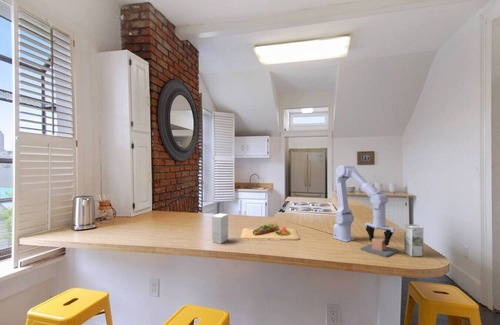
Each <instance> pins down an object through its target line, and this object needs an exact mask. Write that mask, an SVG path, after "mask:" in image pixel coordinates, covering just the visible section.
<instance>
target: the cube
mask: <svg viewBox="0 0 500 325" xmlns="http://www.w3.org/2000/svg"><path fill="white" fill-rule="evenodd" d="M371 244H372V249H375V250H379V251H383V250H386V247H387V246H386V245H385V238H381V237H378V236H377V237H374V238H373V239H372V242H371Z"/></svg>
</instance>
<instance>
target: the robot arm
mask: <svg viewBox="0 0 500 325" xmlns="http://www.w3.org/2000/svg"><path fill="white" fill-rule="evenodd" d="M335 173H336V174H335V185H336V195H337V204H338V206H337V207H338V209H337V210H336V211H335V216H334V220H335V222H336V223H334V225H333V237H332V239H335V240H338V241H341V242H345V243H348V242H350V241H351V242H352V241H354V240H355V238H353V237H352V223H353V222H354V215H353V211H352V209H351V208H349V201H348V193H347V192H348V190H347V184H346V182H347V181H348V179H349V178H352V179H354V181H355V182H356V183H357V184H359V185H360V186H361V187H362V189H361V190H362V191H363V193H365V194H366V196H367V197H368V198H369V200H370V203H371V204H372V205H371V206H372V223H371V222H364V227H365V231H366V232H367V235H368V238H369V240H370V242H371V243H372V239H373V238H375V229H377V230H381V231H384V232H383V235H384V239H385V245H386V247H388V246H389V244H390V240H391V237H392V236H393V234H394V233H395V232H396V228H395V227H392V226H388V225H386V204H387V203H388V200H389V199H388V195H386V193H383V192H381V191H380V190H378V189H377V188H376V187H375V184H374V183H371V182H367V180H365V178H364V177H363V176H362V175H361V174H360V172H359V171H358V169H357V168H356V167H355V166H354V165H353V164H352V165H351V164H350V165H348V164H347V165H343V164H342V165H341V164H339V165H338V166H337V168H336V169H335Z"/></svg>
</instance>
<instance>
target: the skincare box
mask: <svg viewBox="0 0 500 325" xmlns="http://www.w3.org/2000/svg"><path fill="white" fill-rule="evenodd" d="M211 222H212V223H211V226H212V228H211V229H212V230H211V243H212V242H215V243H214V244H217V243H222V244H224V243H225V242H227V241H229V214H228V213H221V212H219V213H216V214H215V215H212V216H211ZM226 240H227V241H226ZM224 241H225V242H224ZM223 242H224V243H223Z"/></svg>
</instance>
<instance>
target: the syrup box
mask: <svg viewBox="0 0 500 325" xmlns="http://www.w3.org/2000/svg"><path fill="white" fill-rule="evenodd" d="M404 253H405V254H406V255H409V256H410V257H424V227H423V226H421V225H420V224H404Z"/></svg>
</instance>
